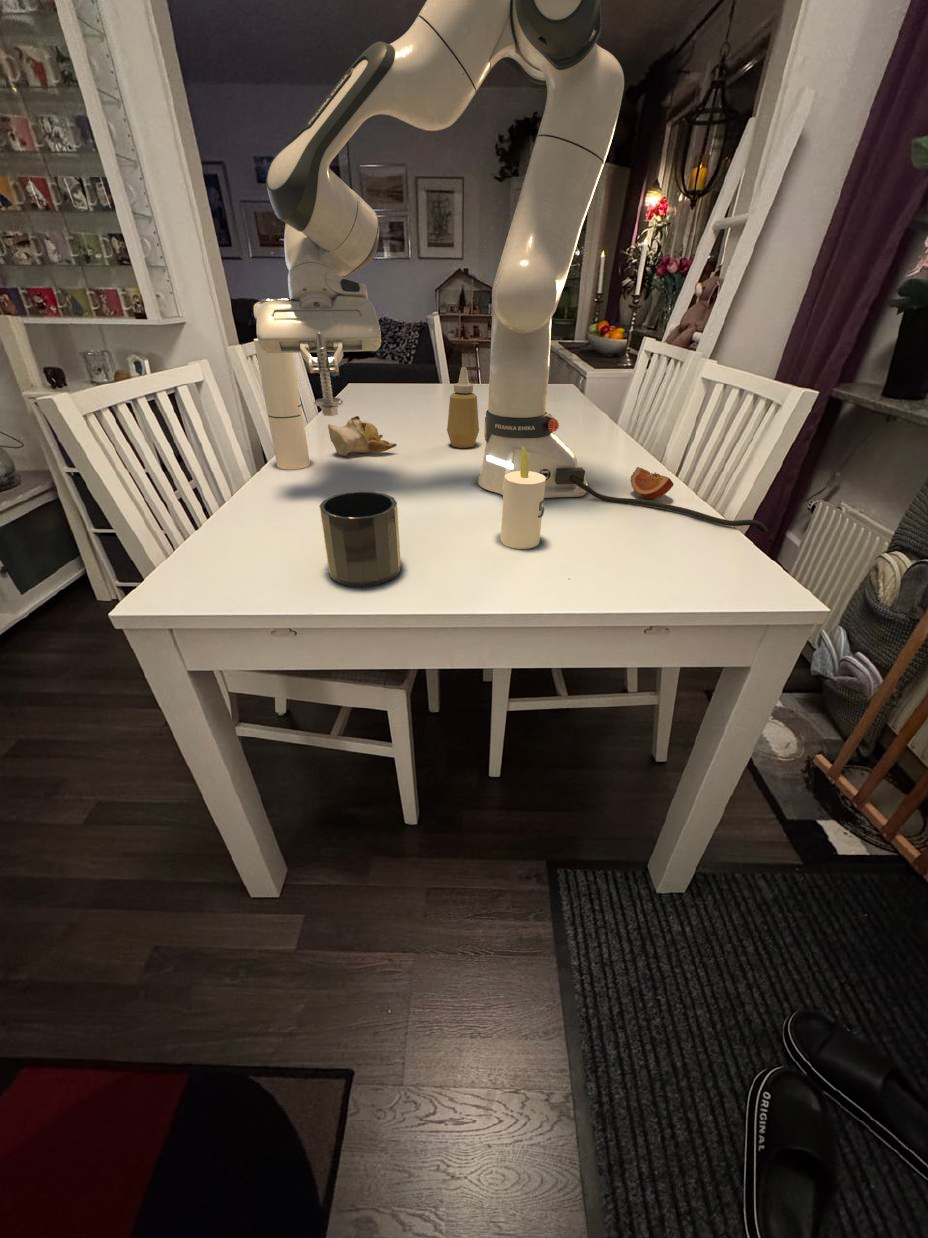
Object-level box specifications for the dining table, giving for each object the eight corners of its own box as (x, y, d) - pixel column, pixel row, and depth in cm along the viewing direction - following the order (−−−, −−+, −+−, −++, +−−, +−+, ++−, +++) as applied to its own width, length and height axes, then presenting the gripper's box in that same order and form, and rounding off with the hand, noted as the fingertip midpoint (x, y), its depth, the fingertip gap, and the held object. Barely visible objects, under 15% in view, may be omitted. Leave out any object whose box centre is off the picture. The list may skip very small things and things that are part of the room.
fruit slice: (621, 492, 105) (625, 467, 102) (645, 487, 107) (651, 463, 104) (651, 506, 98) (657, 480, 96) (677, 500, 101) (683, 475, 98)
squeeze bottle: (446, 441, 135) (445, 365, 125) (477, 441, 136) (479, 365, 126) (448, 450, 128) (447, 370, 118) (480, 449, 129) (482, 370, 119)
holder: (405, 555, 80) (401, 492, 74) (393, 588, 71) (388, 520, 66) (339, 552, 80) (331, 489, 75) (320, 585, 72) (309, 517, 66)
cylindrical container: (314, 460, 120) (296, 337, 106) (303, 470, 114) (283, 341, 100) (284, 459, 120) (262, 336, 107) (271, 468, 114) (247, 340, 101)
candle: (530, 552, 81) (539, 456, 73) (493, 542, 84) (498, 448, 76) (546, 538, 86) (557, 445, 77) (511, 529, 88) (518, 439, 80)
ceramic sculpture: (320, 412, 122) (381, 410, 128) (323, 449, 126) (381, 446, 133) (334, 422, 114) (398, 419, 120) (336, 462, 119) (397, 457, 125)
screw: (318, 418, 88) (313, 412, 92) (346, 416, 90) (341, 410, 94) (306, 331, 81) (301, 329, 85) (337, 330, 83) (331, 328, 87)
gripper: (248, 283, 84) (254, 358, 82) (375, 283, 88) (385, 355, 85) (256, 313, 90) (263, 384, 88) (375, 312, 94) (384, 380, 92)
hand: (324, 370), depth 87 cm, fingers closed on screw, 2 cm apart
